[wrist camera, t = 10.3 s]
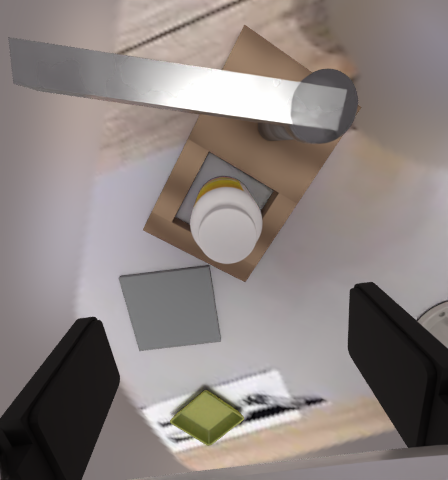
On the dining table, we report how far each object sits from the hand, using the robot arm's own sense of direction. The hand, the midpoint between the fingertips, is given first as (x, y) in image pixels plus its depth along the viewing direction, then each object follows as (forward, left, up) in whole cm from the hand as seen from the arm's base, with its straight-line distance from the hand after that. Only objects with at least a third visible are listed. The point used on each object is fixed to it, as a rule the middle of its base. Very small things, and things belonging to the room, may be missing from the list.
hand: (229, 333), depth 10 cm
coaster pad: (+9, +14, -25) cm, 30 cm away
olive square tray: (+7, +34, -25) cm, 43 cm away
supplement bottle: (0, 0, -25) cm, 25 cm away
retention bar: (+1, -10, -9) cm, 13 cm away
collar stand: (-3, -3, -25) cm, 25 cm away
